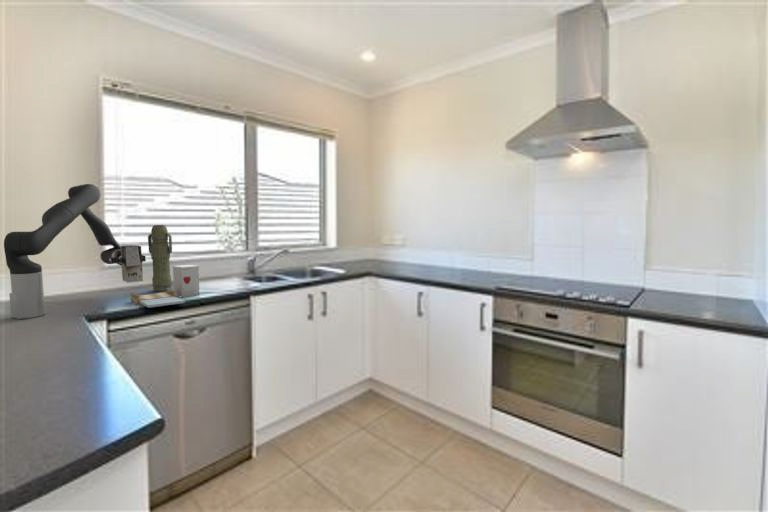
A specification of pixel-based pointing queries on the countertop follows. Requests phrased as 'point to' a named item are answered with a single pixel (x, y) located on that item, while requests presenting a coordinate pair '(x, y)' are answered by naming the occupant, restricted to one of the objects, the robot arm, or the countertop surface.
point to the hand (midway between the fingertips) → (133, 260)
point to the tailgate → (161, 301)
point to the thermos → (160, 257)
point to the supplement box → (186, 280)
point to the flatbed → (151, 296)
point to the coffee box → (132, 263)
